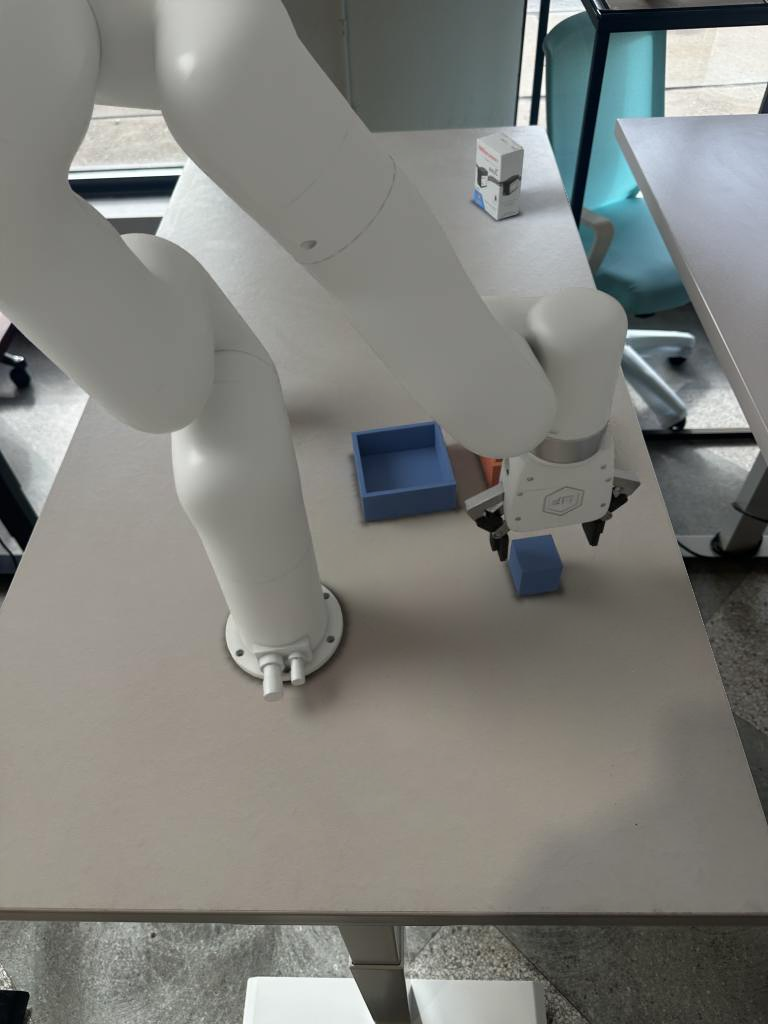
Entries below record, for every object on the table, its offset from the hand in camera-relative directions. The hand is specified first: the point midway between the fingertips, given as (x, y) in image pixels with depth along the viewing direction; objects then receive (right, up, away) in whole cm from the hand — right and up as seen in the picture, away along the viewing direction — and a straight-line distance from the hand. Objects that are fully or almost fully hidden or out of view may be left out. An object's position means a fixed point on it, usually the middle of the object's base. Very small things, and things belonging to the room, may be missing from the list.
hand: (544, 543), depth 77 cm
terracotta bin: (+1, +11, +17) cm, 20 cm away
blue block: (0, -4, +4) cm, 6 cm away
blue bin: (-15, +7, +15) cm, 22 cm away
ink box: (+4, +60, +58) cm, 84 cm away
